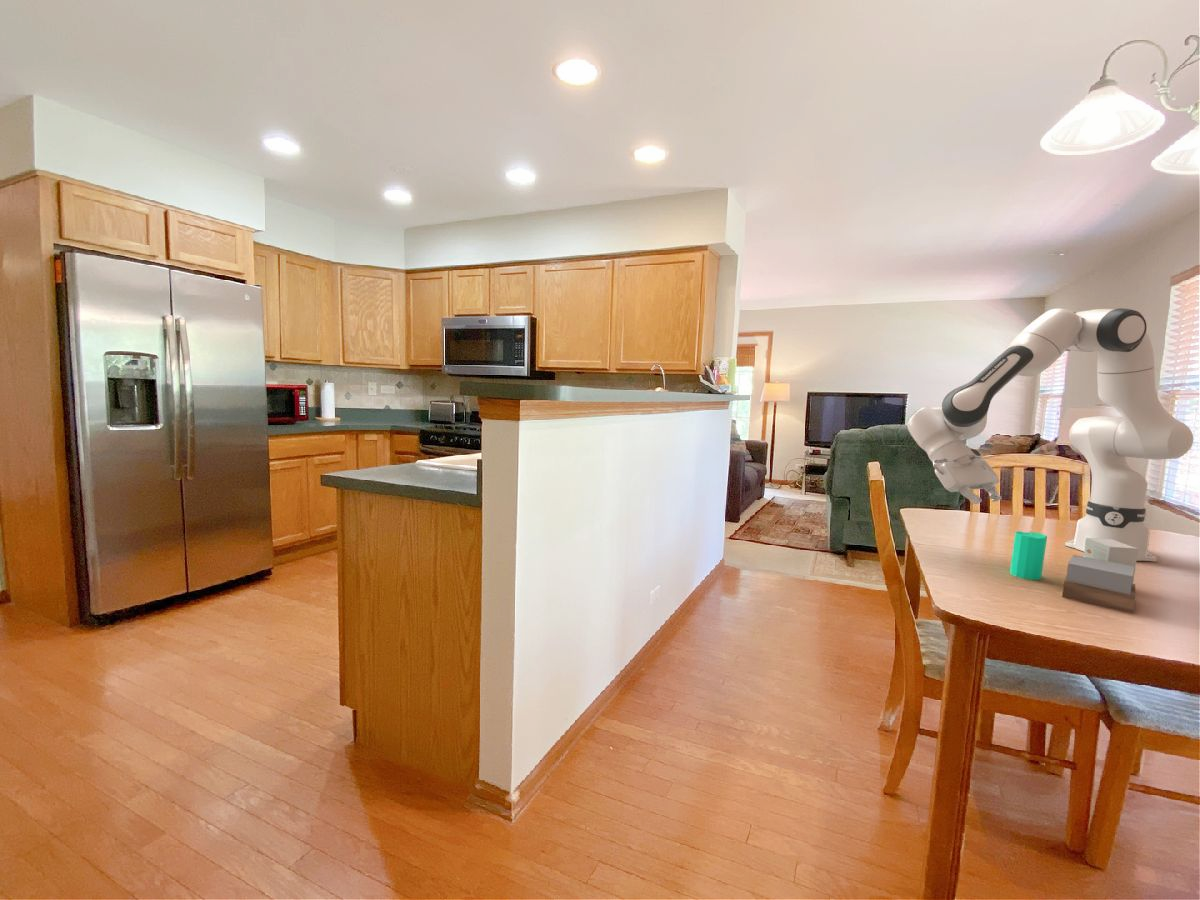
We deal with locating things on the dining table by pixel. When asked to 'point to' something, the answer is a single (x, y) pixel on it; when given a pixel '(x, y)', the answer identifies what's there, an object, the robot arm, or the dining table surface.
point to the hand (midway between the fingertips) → (988, 501)
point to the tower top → (1100, 574)
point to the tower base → (1100, 596)
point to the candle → (1028, 555)
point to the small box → (1111, 551)
